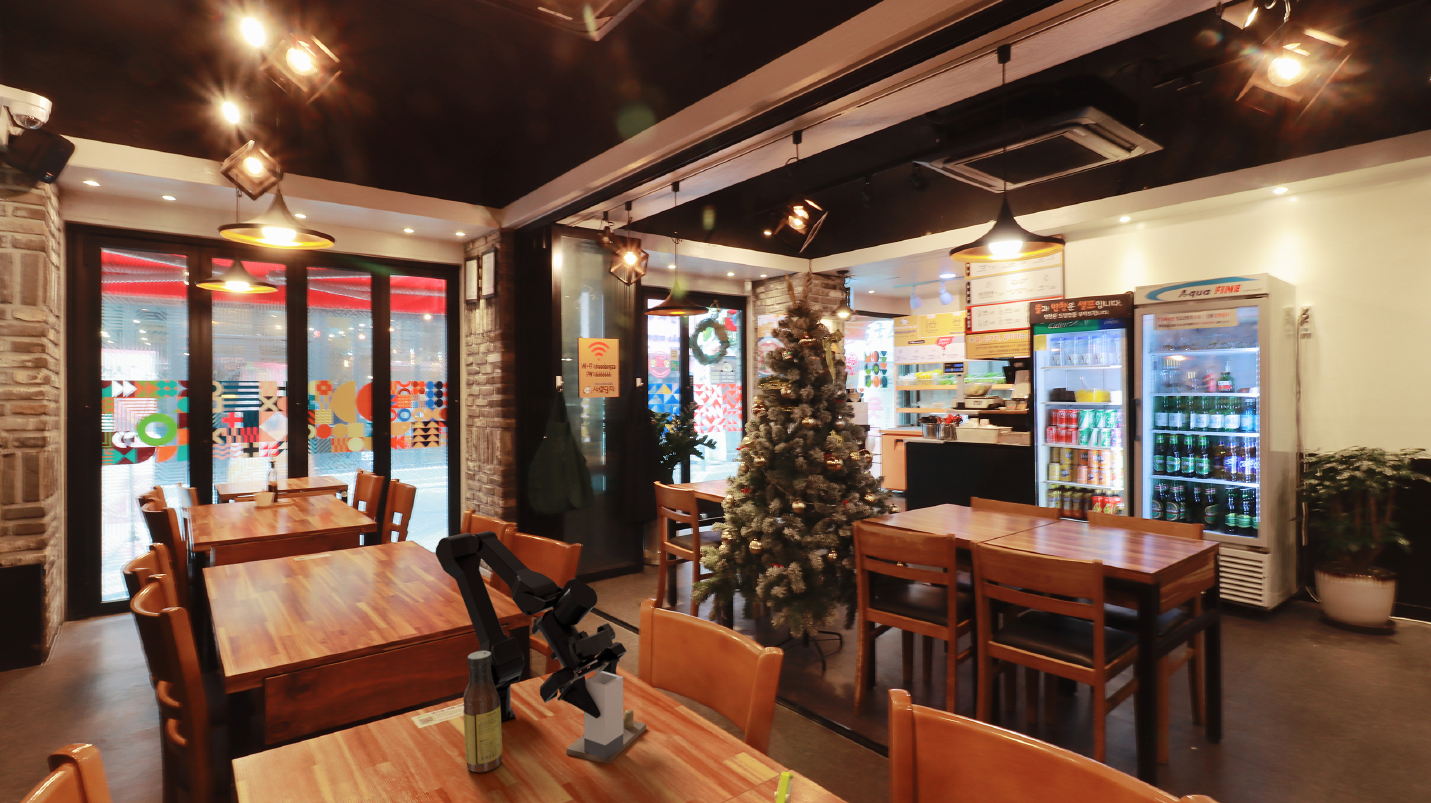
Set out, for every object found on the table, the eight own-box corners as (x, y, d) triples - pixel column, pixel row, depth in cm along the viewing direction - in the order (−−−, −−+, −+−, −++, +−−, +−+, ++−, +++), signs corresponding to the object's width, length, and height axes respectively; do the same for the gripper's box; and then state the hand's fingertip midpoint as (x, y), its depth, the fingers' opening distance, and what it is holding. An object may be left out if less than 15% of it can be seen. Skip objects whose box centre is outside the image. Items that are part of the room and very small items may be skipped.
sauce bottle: (507, 756, 126) (507, 648, 125) (493, 775, 119) (492, 661, 119) (473, 755, 126) (472, 647, 126) (457, 773, 120) (456, 660, 120)
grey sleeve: (584, 751, 125) (584, 680, 125) (602, 739, 130) (602, 671, 130) (605, 759, 123) (605, 686, 123) (623, 747, 127) (623, 676, 127)
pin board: (566, 754, 127) (566, 732, 127) (606, 720, 139) (606, 700, 139) (608, 764, 123) (608, 741, 123) (646, 728, 136) (646, 708, 136)
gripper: (551, 628, 120) (600, 706, 114) (619, 600, 136) (665, 667, 131) (519, 664, 124) (565, 741, 119) (588, 633, 140) (632, 699, 135)
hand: (610, 710), depth 126 cm, fingers open, 6 cm apart
